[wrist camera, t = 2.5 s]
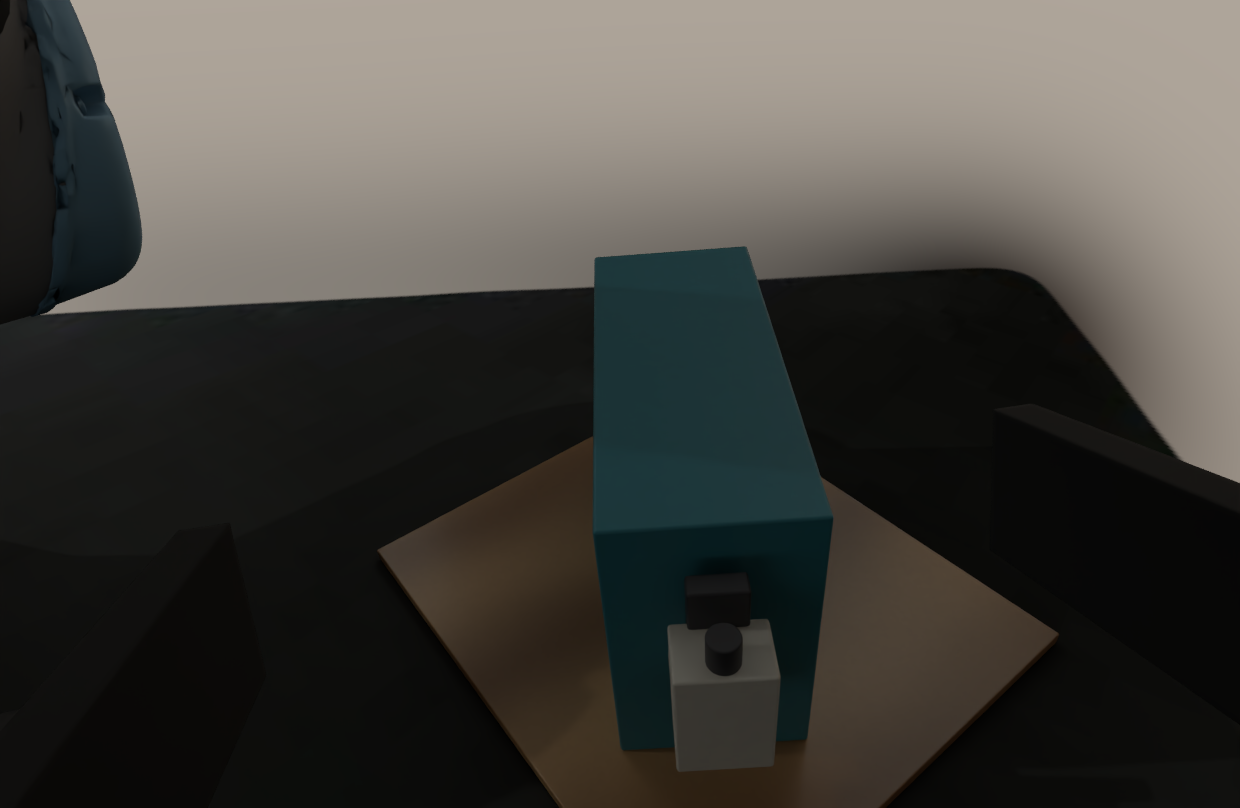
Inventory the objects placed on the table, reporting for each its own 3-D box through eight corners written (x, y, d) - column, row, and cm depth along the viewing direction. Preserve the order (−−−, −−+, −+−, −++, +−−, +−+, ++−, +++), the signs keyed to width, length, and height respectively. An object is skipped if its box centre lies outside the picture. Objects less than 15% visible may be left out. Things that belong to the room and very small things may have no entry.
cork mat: (379, 557, 35) (376, 549, 34) (685, 394, 42) (684, 386, 42) (694, 995, 21) (693, 988, 21) (1056, 642, 29) (1060, 633, 29)
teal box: (613, 450, 38) (594, 256, 32) (742, 441, 38) (747, 245, 32) (622, 841, 24) (591, 625, 18) (827, 829, 24) (864, 608, 18)
